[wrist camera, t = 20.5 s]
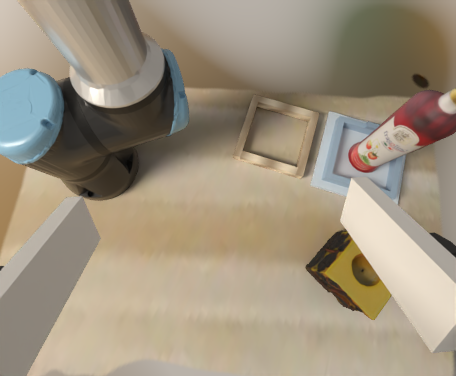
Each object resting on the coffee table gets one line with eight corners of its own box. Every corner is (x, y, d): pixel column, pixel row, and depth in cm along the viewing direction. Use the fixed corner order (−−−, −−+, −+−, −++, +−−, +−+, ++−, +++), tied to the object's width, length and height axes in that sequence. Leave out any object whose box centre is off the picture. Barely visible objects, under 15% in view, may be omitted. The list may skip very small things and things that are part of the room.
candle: (343, 307, 46) (374, 323, 37) (302, 268, 48) (322, 274, 38) (375, 267, 48) (413, 273, 38) (335, 230, 50) (362, 227, 40)
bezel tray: (310, 185, 52) (315, 181, 48) (328, 112, 55) (335, 104, 52) (394, 211, 50) (406, 209, 47) (407, 135, 54) (419, 128, 51)
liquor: (337, 158, 52) (458, 64, 25) (359, 136, 54) (498, 25, 26) (363, 182, 51) (520, 112, 24) (385, 160, 52) (559, 69, 25)
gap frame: (232, 158, 53) (233, 154, 51) (252, 99, 56) (253, 94, 54) (300, 178, 52) (303, 176, 50) (316, 117, 55) (319, 113, 53)
